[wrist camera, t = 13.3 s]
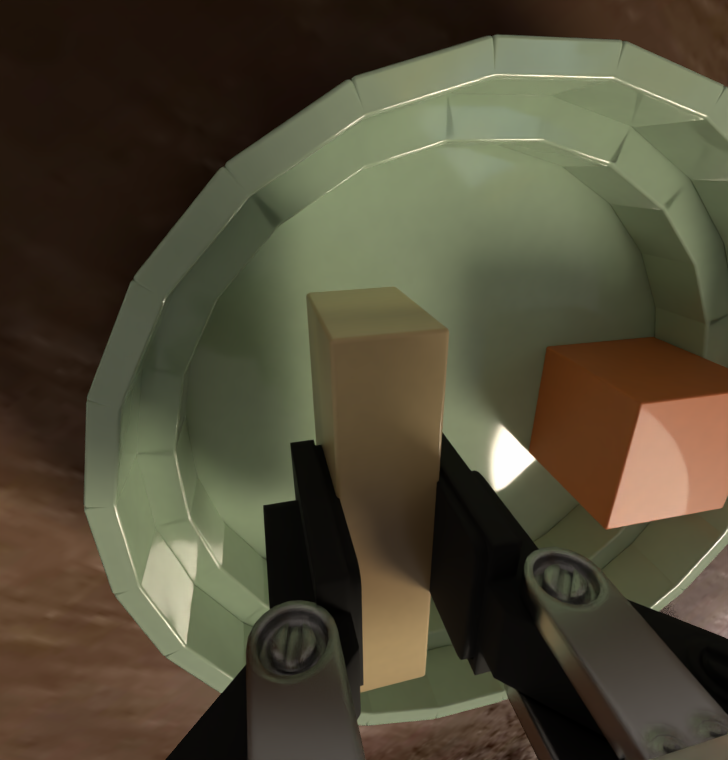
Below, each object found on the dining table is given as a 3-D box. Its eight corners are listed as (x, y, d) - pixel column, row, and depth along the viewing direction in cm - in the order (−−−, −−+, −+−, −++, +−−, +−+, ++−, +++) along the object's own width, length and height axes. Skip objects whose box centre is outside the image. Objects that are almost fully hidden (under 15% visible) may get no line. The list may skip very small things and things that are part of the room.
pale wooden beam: (305, 291, 10) (329, 340, 7) (396, 285, 10) (451, 328, 7) (326, 593, 14) (346, 697, 11) (391, 580, 14) (426, 677, 11)
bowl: (48, 72, 10) (-92, 7, 6) (749, 87, 13) (964, 52, 9) (194, 645, 17) (178, 788, 13) (613, 557, 21) (699, 649, 17)
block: (545, 345, 15) (640, 402, 11) (652, 335, 15) (773, 386, 12) (527, 451, 16) (605, 531, 13) (625, 437, 17) (723, 508, 14)
